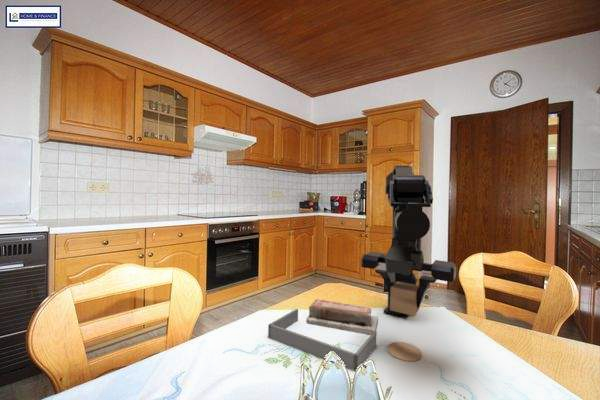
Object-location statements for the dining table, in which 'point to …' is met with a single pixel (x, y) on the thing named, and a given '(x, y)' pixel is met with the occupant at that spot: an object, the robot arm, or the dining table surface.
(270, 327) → the bin
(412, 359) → the coaster
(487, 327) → the dining table surface
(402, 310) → the block
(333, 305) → the packaged product
